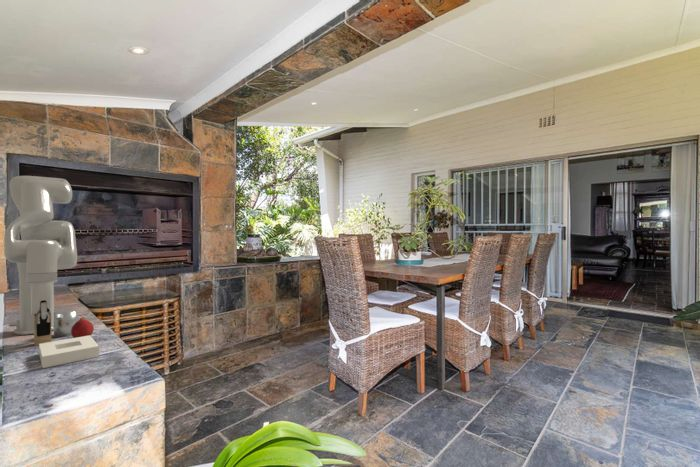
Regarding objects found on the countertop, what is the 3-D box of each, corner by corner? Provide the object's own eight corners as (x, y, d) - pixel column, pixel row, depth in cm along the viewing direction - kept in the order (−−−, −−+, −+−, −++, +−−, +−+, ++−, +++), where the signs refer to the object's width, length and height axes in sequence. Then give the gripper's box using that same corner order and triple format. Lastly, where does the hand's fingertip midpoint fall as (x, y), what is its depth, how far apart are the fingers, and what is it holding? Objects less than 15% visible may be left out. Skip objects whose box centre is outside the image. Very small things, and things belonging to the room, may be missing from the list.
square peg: (34, 343, 113) (33, 312, 113) (50, 340, 116) (50, 310, 116) (34, 346, 110) (34, 314, 110) (51, 343, 113) (51, 312, 113)
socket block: (39, 354, 102) (39, 343, 102) (90, 344, 110) (89, 335, 110) (42, 368, 90) (42, 356, 90) (98, 356, 99) (98, 345, 99)
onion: (84, 344, 111) (83, 318, 111) (66, 344, 111) (66, 319, 111) (97, 338, 117) (97, 314, 117) (80, 339, 117) (80, 315, 117)
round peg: (48, 337, 119) (48, 314, 120) (62, 332, 126) (62, 310, 126) (69, 336, 120) (69, 313, 120) (82, 331, 127) (82, 309, 127)
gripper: (25, 277, 117) (26, 330, 116) (27, 281, 104) (27, 341, 104) (55, 275, 122) (55, 326, 122) (59, 279, 109) (60, 336, 109)
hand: (42, 332), depth 113 cm, fingers open, 7 cm apart
